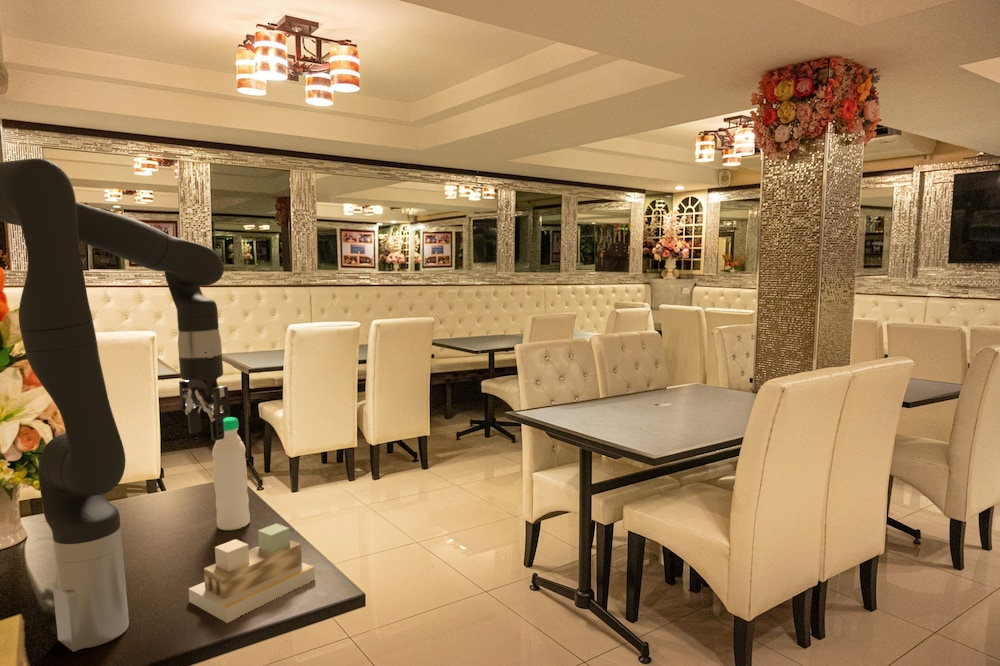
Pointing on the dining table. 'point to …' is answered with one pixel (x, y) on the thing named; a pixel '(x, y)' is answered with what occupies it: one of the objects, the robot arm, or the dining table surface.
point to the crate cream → (232, 555)
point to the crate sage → (274, 538)
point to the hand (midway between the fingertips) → (206, 436)
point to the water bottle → (230, 478)
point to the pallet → (252, 570)
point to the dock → (251, 594)
